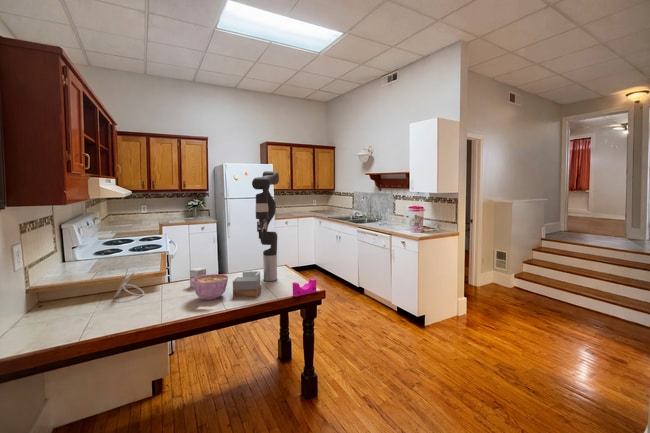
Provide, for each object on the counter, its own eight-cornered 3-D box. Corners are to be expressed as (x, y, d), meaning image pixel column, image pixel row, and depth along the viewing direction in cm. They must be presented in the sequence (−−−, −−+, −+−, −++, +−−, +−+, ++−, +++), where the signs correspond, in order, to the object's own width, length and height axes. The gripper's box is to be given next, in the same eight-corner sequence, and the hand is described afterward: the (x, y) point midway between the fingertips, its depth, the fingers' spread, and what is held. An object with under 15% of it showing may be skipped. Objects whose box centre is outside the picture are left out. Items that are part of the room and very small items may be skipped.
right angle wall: (243, 282, 213) (242, 271, 213) (260, 281, 213) (260, 271, 213) (238, 286, 201) (238, 275, 201) (257, 286, 201) (257, 275, 201)
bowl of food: (205, 291, 190) (205, 273, 189) (235, 293, 186) (234, 274, 185) (184, 302, 170) (183, 281, 170) (217, 304, 166) (216, 283, 166)
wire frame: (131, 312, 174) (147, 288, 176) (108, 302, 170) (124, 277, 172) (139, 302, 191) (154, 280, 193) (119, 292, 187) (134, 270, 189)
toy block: (310, 289, 193) (310, 277, 193) (316, 291, 189) (316, 279, 188) (290, 294, 184) (290, 281, 184) (296, 296, 179) (296, 283, 179)
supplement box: (189, 288, 197) (189, 269, 197) (199, 286, 204) (198, 267, 203) (197, 290, 194) (196, 270, 193) (206, 287, 200) (206, 268, 200)
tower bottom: (238, 293, 188) (238, 285, 188) (261, 293, 187) (261, 285, 187) (233, 298, 178) (232, 289, 178) (256, 298, 177) (256, 289, 177)
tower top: (237, 285, 187) (237, 277, 187) (260, 284, 188) (260, 276, 187) (232, 289, 177) (232, 281, 177) (257, 289, 178) (257, 280, 177)
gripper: (259, 210, 191) (259, 236, 192) (252, 211, 177) (253, 239, 178) (271, 210, 191) (271, 236, 192) (265, 211, 176) (265, 239, 177)
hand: (262, 237), depth 185 cm, fingers open, 8 cm apart
